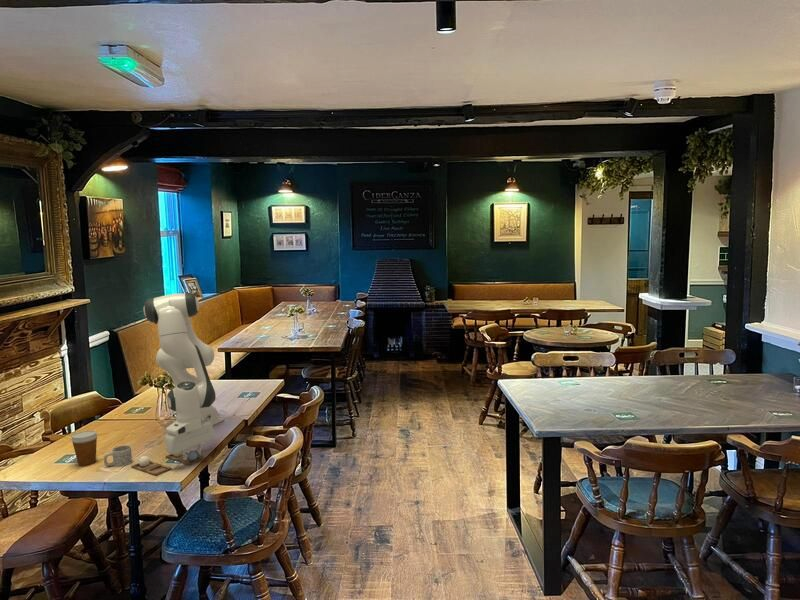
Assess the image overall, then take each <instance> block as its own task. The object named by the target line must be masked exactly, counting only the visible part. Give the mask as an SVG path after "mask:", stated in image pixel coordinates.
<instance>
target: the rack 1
mask: <svg viewBox="0 0 800 600" xmlns="http://www.w3.org/2000/svg"><path fill="white" fill-rule="evenodd" d="M130 467H131V469H134V470H136V471H139V472H141V473H142V472H143V473H145V474H148V475H150V476H153V477H158V476H160V475H162V474H165V473H167V472H170V471H173V468H172V467H170V466H168V465H164V464H161V463H159V462H155V461H151V460H150V463H149V464H148V465H147V466H145V467H142V466H140V465H139V462H138V463H136V464H132V465H131V466H130Z"/></svg>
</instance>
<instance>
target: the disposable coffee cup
mask: <svg viewBox="0 0 800 600" xmlns="http://www.w3.org/2000/svg"><path fill="white" fill-rule="evenodd" d="M98 436H99V435H98V433H97V431H95V430H90V429H89V430H83V431H78V432H76V433H74V434H72V435H71V438H70V441H71V443H72V445H73V449H74V453H75V454H74V455H75V457H76V461H77V465H78V466H80V467H86V466H87V467H88V466H91V465H93V464H95V463H96V462H97V441H98V440H97V439H98Z"/></svg>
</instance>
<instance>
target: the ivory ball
mask: <svg viewBox="0 0 800 600" xmlns="http://www.w3.org/2000/svg"><path fill="white" fill-rule="evenodd" d="M150 461H151V460H150V457H149V456H147V455H143V456H141V457H139V460H138V463H139V465H140V466H142V467H145V466H147V465H148V464H149V463H150Z"/></svg>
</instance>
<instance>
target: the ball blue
mask: <svg viewBox="0 0 800 600" xmlns="http://www.w3.org/2000/svg"><path fill="white" fill-rule="evenodd" d="M195 451H196V450H189V452H187V453H188V454H187V455H189V459H188V460H189V461H194V460H196V459H197V453H196V452H195Z"/></svg>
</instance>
